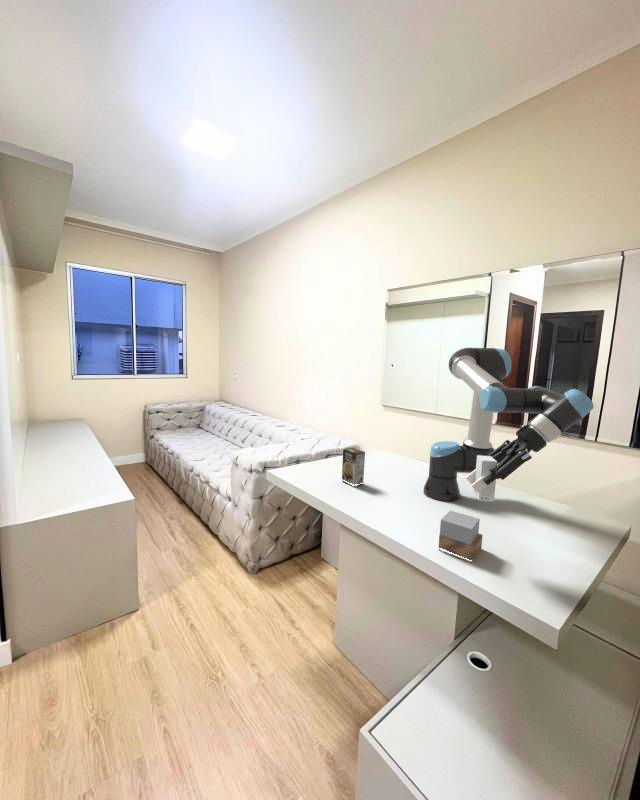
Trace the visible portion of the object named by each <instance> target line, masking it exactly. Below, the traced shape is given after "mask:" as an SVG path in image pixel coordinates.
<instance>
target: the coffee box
mask: <svg viewBox="0 0 640 800" xmlns="http://www.w3.org/2000/svg"><path fill="white" fill-rule="evenodd" d="M365 459H366V451H365V450H360V449H357V448H354V447H349V448H342V467H341V468H342V469H341V480H342V479H343V480H345V481H347V482H349V483H352V484H354V485H355V484H360V483H363V484H364V477H365V464H366V463H365Z"/></svg>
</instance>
